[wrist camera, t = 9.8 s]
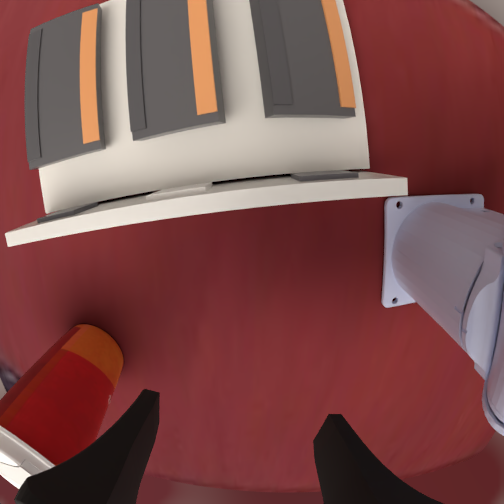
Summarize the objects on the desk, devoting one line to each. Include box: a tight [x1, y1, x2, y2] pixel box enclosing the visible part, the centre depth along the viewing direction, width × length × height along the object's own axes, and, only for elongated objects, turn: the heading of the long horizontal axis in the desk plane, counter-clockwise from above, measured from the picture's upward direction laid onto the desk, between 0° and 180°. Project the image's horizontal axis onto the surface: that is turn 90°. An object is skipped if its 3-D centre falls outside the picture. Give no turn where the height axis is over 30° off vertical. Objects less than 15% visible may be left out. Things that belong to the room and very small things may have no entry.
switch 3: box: [249, 0, 356, 119], centre depth 12 cm, size 5×10×1 cm, turn 6°
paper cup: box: [0, 324, 124, 489], centre depth 15 cm, size 8×8×14 cm
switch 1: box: [25, 4, 106, 170], centre depth 13 cm, size 5×10×1 cm, turn 6°
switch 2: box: [125, 0, 226, 141], centre depth 12 cm, size 5×10×1 cm, turn 6°
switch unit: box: [5, 0, 408, 247], centre depth 13 cm, size 21×15×6 cm
